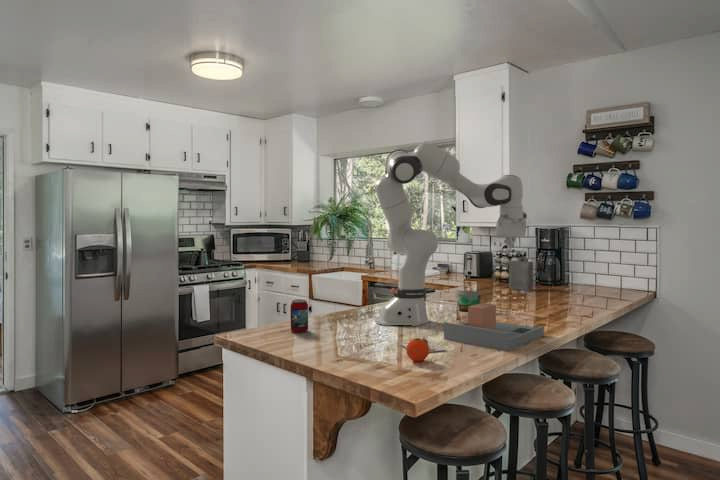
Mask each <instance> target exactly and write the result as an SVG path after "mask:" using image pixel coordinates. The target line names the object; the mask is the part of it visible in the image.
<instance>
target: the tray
mask: <svg viewBox="0 0 720 480" xmlns="http://www.w3.org/2000/svg"><path fill="white" fill-rule="evenodd" d="M544 336H545V326H544V325H541V326H538V327H535V326H527V325H520V324H513V323H508V322H507V323H506V322H501V321H496V330H491V329H485V328H479V327H473V326H468V321H467V322H463V323H455V322H448V321H444V322H443V339H444V340H446V341H447V340H448V341H452V342H457V343H463V344H466V345H473V346H478V347H483V348H488V349H494V350H499V351H503V352H509V351H512V350H514V349H517V348H519V347H521V346H523V345H526V344H528V343H530V342H532V341H535V340H537V339H540V338H541V337H544Z"/></svg>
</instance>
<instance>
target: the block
mask: <svg viewBox="0 0 720 480" xmlns="http://www.w3.org/2000/svg"><path fill="white" fill-rule="evenodd" d="M467 322H468V326H473V327H479V328H485V329H491V330H496V322H497V304H493V303H487V302H486V303H485V302H480V304H476V305H472V306H468V312H467Z"/></svg>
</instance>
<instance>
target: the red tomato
mask: <svg viewBox="0 0 720 480" xmlns="http://www.w3.org/2000/svg"><path fill="white" fill-rule="evenodd" d="M407 343H408V345H407V346H406V347H407V348H405V350H406V355H407V357H408V358H409V359H410V360H411V361H413V362H423V361H424V360H426V359H427V358H428V357H429V356H428V355H429V353H430V352H429V351H430V346H429V347H428V345H429V344H427V343H426V342H425V341H424V340H422V337H416V338H413V339H411V340H409V341H408V342H407Z"/></svg>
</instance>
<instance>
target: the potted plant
mask: <svg viewBox="0 0 720 480" xmlns="http://www.w3.org/2000/svg"><path fill="white" fill-rule="evenodd" d="M455 294H456V295H457V306H458V311H459V312H463V313H468V306H472V305H476V304H480V303H481V297H482V295H483V291H482V290H481V289H480V290H461V289H456V291H455Z"/></svg>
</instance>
